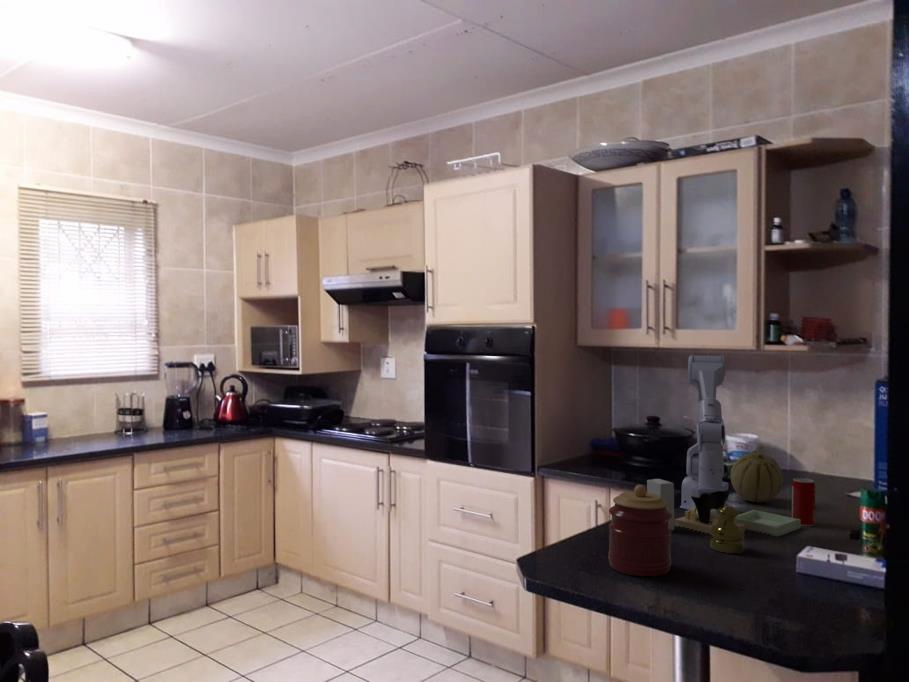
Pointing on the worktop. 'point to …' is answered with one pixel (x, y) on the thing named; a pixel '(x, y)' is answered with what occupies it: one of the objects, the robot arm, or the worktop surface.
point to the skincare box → (663, 494)
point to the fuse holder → (695, 524)
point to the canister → (640, 534)
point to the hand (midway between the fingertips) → (709, 521)
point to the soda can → (803, 501)
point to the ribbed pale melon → (756, 477)
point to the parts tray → (768, 522)
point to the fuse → (712, 514)
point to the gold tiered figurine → (727, 532)
